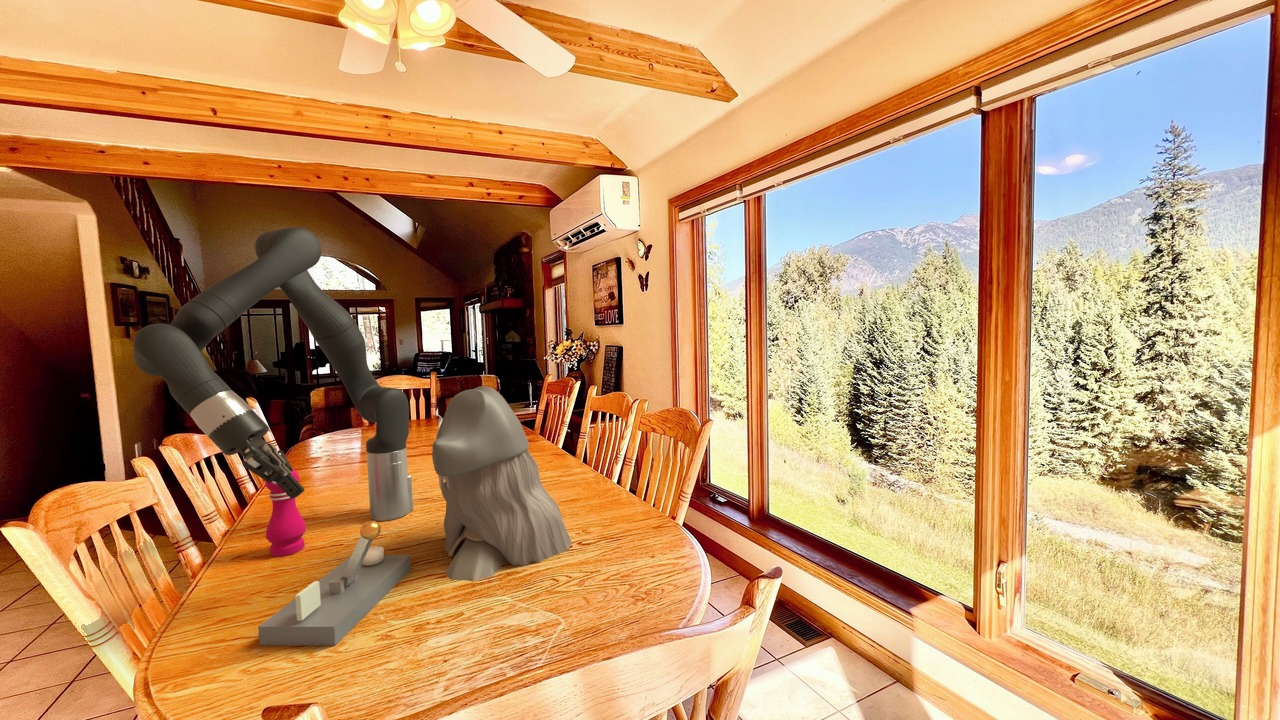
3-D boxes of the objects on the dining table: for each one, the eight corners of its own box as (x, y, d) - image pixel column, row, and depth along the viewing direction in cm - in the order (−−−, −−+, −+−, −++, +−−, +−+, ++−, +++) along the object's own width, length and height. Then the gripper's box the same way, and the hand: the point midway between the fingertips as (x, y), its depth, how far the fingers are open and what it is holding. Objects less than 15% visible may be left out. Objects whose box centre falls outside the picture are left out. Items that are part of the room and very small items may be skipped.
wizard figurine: (466, 511, 133) (460, 379, 131) (591, 517, 127) (587, 378, 125) (378, 574, 100) (367, 399, 98) (541, 587, 94) (534, 400, 92)
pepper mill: (287, 559, 108) (280, 466, 106) (258, 556, 109) (251, 465, 108) (315, 544, 115) (309, 457, 113) (288, 542, 116) (281, 456, 115)
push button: (356, 565, 97) (355, 555, 97) (368, 556, 101) (367, 546, 101) (377, 565, 97) (376, 555, 97) (388, 555, 101) (387, 546, 101)
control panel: (259, 645, 78) (257, 614, 78) (352, 569, 102) (351, 545, 102) (335, 645, 78) (333, 614, 78) (411, 569, 102) (409, 545, 102)
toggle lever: (332, 581, 88) (360, 521, 87) (343, 572, 91) (371, 514, 90) (349, 590, 88) (377, 530, 87) (359, 580, 91) (387, 522, 90)
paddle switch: (297, 620, 79) (295, 595, 78) (316, 604, 83) (314, 581, 83) (302, 620, 79) (300, 595, 78) (320, 604, 83) (319, 581, 83)
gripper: (234, 407, 85) (307, 484, 87) (264, 409, 97) (327, 476, 99) (189, 437, 82) (265, 516, 85) (226, 435, 95) (291, 504, 97)
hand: (298, 494), depth 92 cm, fingers closed
